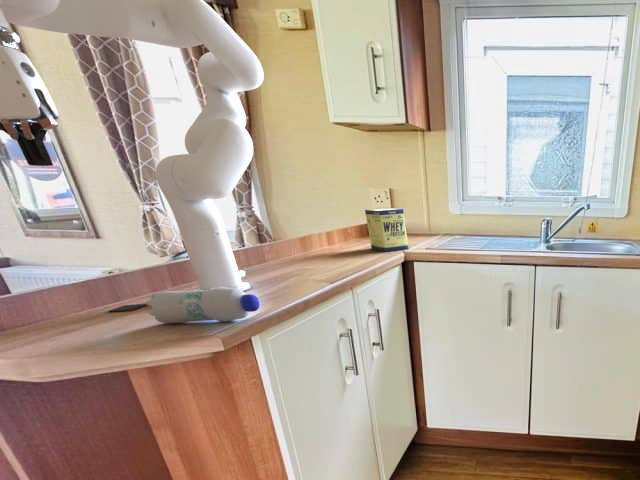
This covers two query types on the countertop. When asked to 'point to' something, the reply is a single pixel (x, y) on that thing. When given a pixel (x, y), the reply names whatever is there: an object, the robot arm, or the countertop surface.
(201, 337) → the countertop surface
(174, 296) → the bottle
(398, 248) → the protein box
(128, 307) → the bottle marker
